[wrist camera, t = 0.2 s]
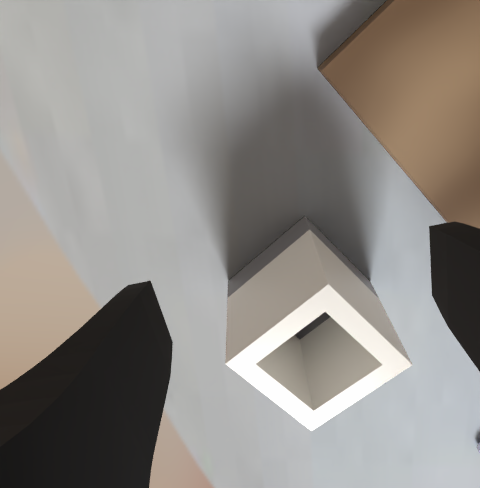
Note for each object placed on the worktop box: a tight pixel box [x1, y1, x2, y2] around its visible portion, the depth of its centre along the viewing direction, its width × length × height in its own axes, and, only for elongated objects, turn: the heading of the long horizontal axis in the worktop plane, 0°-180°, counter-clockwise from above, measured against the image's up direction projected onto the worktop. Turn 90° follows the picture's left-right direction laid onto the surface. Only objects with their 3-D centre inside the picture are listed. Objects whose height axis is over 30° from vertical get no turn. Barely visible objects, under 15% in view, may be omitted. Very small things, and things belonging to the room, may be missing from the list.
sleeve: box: [225, 216, 412, 431], centre depth 20 cm, size 5×5×6 cm
